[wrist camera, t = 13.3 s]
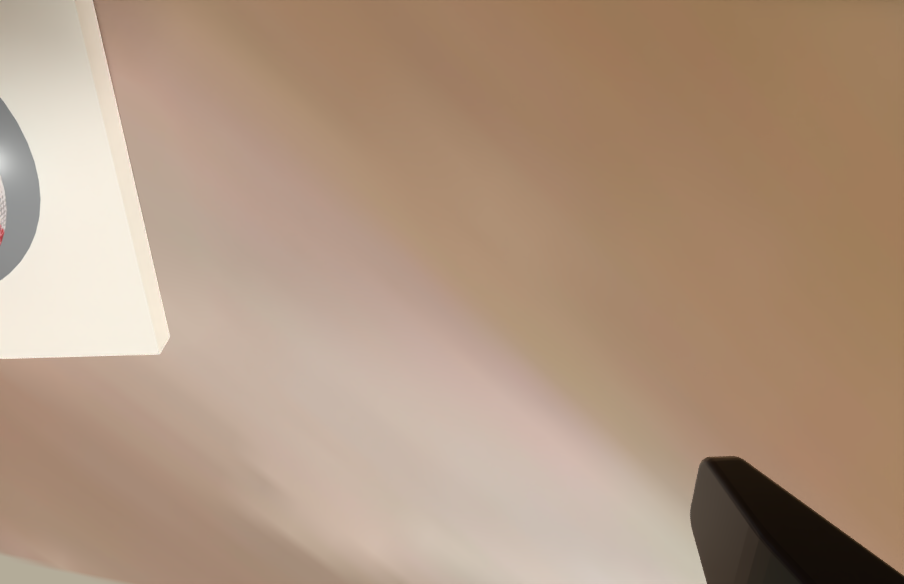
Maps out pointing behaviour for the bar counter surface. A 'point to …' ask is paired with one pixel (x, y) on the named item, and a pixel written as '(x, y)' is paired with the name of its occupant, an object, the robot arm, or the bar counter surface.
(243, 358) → the bar counter surface
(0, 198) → the soda can
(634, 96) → the bar counter surface
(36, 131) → the plate
